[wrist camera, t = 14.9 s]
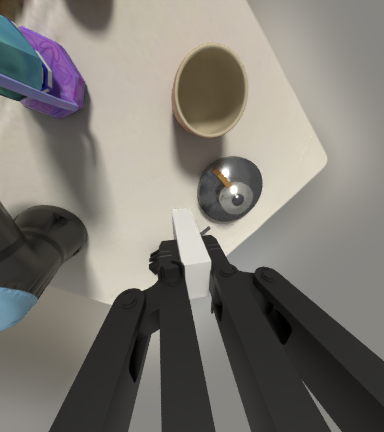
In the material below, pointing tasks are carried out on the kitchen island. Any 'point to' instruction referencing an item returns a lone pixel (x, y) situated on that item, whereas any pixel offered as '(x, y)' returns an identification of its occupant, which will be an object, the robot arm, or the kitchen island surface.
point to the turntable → (227, 185)
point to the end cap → (154, 261)
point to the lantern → (38, 72)
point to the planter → (210, 91)
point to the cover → (234, 197)
